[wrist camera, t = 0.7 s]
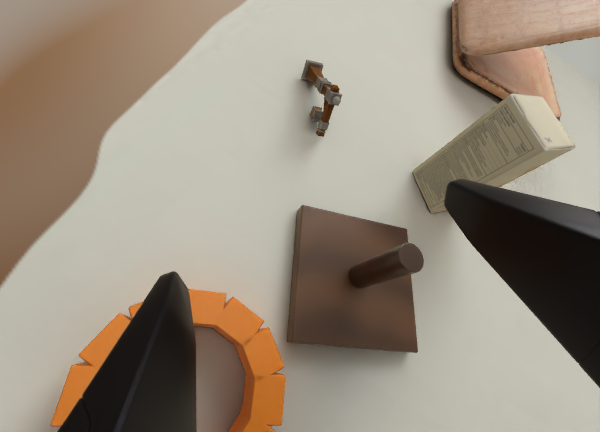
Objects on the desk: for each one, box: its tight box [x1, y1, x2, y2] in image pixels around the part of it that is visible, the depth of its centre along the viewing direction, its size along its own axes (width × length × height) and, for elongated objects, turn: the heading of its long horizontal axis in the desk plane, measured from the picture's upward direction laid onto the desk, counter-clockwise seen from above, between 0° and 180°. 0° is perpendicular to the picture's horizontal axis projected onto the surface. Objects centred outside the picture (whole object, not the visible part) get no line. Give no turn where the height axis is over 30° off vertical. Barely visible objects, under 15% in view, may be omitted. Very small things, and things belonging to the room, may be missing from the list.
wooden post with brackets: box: [301, 60, 342, 137], centre depth 28 cm, size 2×8×4 cm, turn 6°
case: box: [452, 0, 600, 122], centre depth 41 cm, size 20×21×16 cm
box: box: [413, 94, 575, 213], centre depth 26 cm, size 5×4×11 cm
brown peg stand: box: [287, 205, 424, 353], centre depth 20 cm, size 10×10×7 cm
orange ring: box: [51, 289, 286, 432], centre depth 16 cm, size 11×11×3 cm
